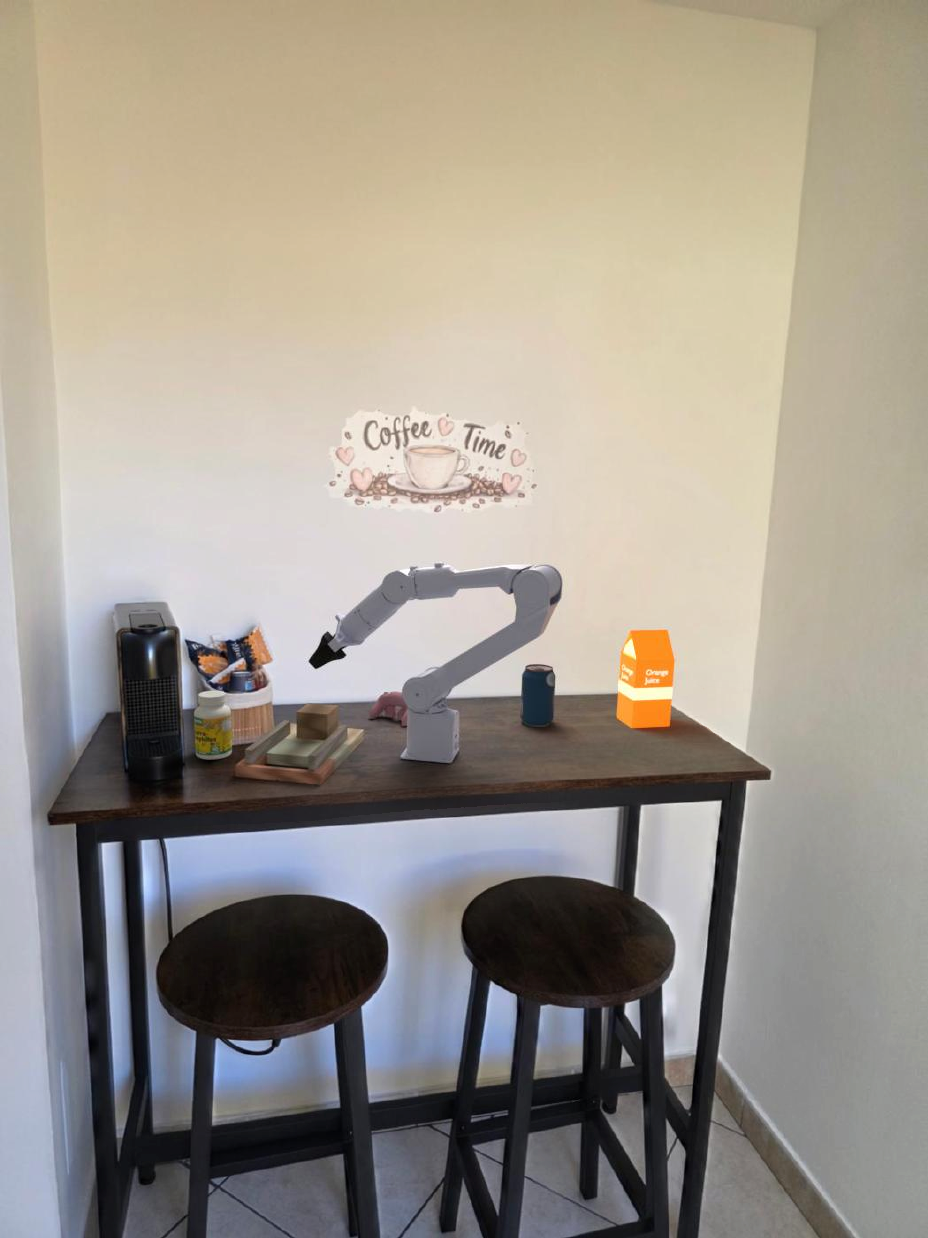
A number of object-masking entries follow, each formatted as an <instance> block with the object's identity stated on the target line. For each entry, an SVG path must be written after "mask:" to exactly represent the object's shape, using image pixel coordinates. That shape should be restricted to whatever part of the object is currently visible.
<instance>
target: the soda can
mask: <svg viewBox="0 0 928 1238" xmlns="http://www.w3.org/2000/svg"><path fill="white" fill-rule="evenodd" d="M524 667H525V669H524V671H523V672H522V674H521V691H520V692H521V694H520V714H519V715H520V719H521V721H522V723H523V724H524V725H526V726H527V727H533V728H542V727H548V726H550V725H551V723H552V721H553V720H554V715H555V713H554V712H555V693H556V674H555V672H554V668H553V666H551V665H547V664H541V663H539V664H538V663H535V664H527V665H525V666H524Z"/></svg>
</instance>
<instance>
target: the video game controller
mask: <svg viewBox="0 0 928 1238" xmlns="http://www.w3.org/2000/svg"><path fill="white" fill-rule="evenodd" d="M396 707H398V708H399V707H400V709H399V710H398V711H397V708H396ZM407 709H408V706H407V705H406V704H405V702H404V700H403V697H402V691H401V692H400V691H384V692H383V694H381V695H380V696H379V697H378V698H377V700H376V702H375V703H374V704H373V705H372V707H371V709H370V710H369V711H370V712H369V718H370V720H374V719H377V718H378V717H379V716H380V715H381V714H382V713H383V712H384V714H385V715H384V716H385V717H387V718H389V719H394V718H395V717H396V718H397V719H398V720H399V721H401V725H402V727H404V726H406V727H407Z"/></svg>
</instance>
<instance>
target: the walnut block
mask: <svg viewBox="0 0 928 1238" xmlns="http://www.w3.org/2000/svg"><path fill="white" fill-rule="evenodd" d="M295 719H296V723H295V724H297V738H304V739H315V740H326V739H327V738H328V737H329V736H330V735H331V734H332V733H334V732H335V731H336V730H337V729H338V727H339V705H337V704H335V705H334V704H326V703H325V704H322V703H310V702H307V704H305V705H303V707H301V708H300V709H298V710H297V711H296V718H295Z"/></svg>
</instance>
